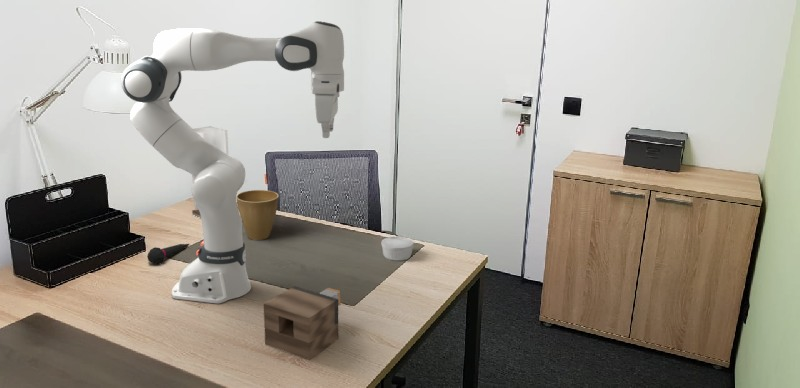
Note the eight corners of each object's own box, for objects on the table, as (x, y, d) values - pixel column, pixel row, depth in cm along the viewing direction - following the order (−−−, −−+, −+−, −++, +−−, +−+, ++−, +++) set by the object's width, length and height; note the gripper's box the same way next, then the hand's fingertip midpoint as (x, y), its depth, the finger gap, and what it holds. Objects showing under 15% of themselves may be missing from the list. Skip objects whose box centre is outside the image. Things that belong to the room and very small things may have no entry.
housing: (309, 360, 149) (308, 318, 146) (265, 344, 156) (263, 303, 152) (338, 339, 159) (338, 299, 156) (295, 324, 166) (294, 286, 162)
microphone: (184, 253, 219) (146, 268, 200) (180, 238, 219) (141, 251, 200) (197, 251, 218) (160, 265, 199) (192, 235, 217) (155, 247, 198)
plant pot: (233, 243, 221) (230, 200, 217) (245, 229, 235) (243, 188, 231) (274, 245, 221) (272, 202, 216) (283, 230, 235) (282, 190, 230)
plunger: (308, 326, 155) (307, 311, 154) (295, 321, 157) (295, 307, 156) (340, 304, 167) (340, 291, 165) (328, 301, 168) (328, 287, 167)
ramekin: (412, 250, 220) (413, 236, 218) (414, 262, 209) (414, 248, 207) (381, 249, 219) (381, 235, 218) (381, 262, 208) (381, 247, 207)
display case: (192, 215, 249) (186, 129, 239) (215, 209, 257) (210, 126, 247) (208, 221, 242) (203, 133, 232) (231, 215, 250) (227, 130, 240)
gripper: (320, 79, 177) (321, 127, 181) (311, 88, 158) (311, 141, 162) (342, 80, 177) (342, 127, 181) (335, 88, 158) (335, 141, 162)
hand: (328, 134), depth 171 cm, fingers open, 8 cm apart
